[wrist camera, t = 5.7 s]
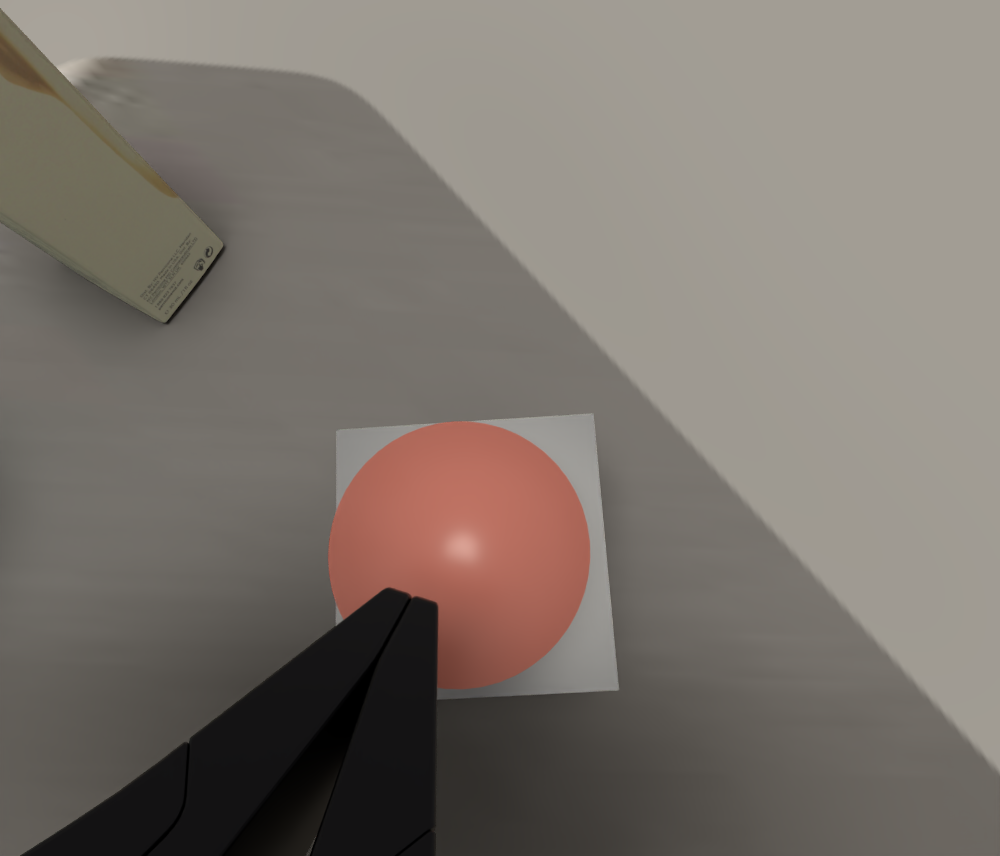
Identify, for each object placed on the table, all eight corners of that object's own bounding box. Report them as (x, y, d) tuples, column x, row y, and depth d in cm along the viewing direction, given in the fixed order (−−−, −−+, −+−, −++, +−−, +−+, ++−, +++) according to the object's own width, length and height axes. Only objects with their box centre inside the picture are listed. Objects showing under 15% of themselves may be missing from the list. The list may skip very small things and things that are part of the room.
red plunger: (573, 641, 20) (602, 682, 13) (399, 650, 20) (326, 696, 13) (560, 467, 21) (578, 414, 14) (396, 478, 21) (329, 429, 14)
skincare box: (230, 245, 26) (-15, -25, 14) (167, 329, 26) (-146, 118, 14) (113, 178, 27) (-207, -127, 15) (49, 257, 26) (-340, 0, 15)
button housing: (589, 653, 22) (618, 690, 15) (393, 664, 22) (335, 705, 15) (573, 458, 24) (593, 413, 17) (390, 470, 24) (336, 429, 17)
